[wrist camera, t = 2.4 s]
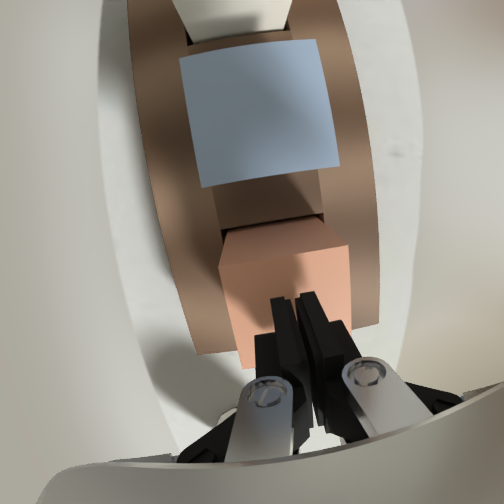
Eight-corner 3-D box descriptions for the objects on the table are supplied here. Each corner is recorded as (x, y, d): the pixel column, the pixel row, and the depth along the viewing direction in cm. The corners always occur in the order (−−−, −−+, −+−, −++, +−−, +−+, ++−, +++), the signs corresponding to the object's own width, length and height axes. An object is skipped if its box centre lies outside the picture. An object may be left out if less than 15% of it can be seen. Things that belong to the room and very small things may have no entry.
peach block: (227, 229, 17) (218, 267, 11) (314, 215, 17) (348, 245, 11) (243, 307, 18) (242, 369, 13) (322, 293, 18) (351, 349, 13)
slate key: (202, 91, 14) (179, 58, 9) (292, 78, 14) (315, 39, 9) (217, 177, 16) (201, 187, 10) (307, 163, 16) (340, 166, 10)
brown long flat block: (147, 0, 15) (126, -30, 10) (301, -24, 15) (313, -59, 10) (206, 317, 23) (197, 354, 18) (355, 291, 23) (378, 323, 18)
